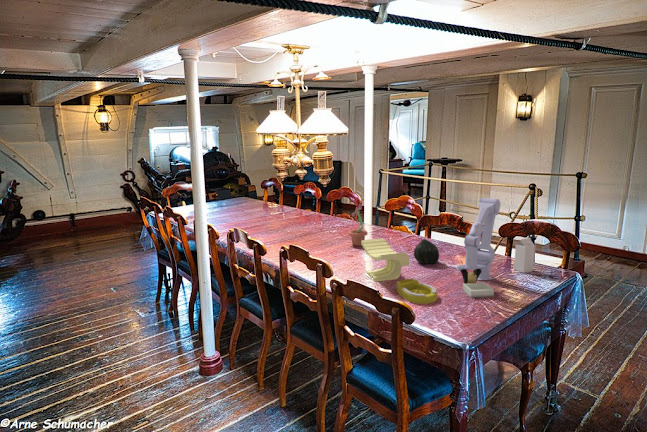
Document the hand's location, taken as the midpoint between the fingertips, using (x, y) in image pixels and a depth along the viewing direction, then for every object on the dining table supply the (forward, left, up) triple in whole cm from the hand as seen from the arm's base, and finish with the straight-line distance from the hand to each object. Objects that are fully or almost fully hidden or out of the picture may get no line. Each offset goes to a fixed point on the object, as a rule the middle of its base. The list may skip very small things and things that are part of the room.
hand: (470, 282), depth 216 cm
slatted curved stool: (-21, -41, -2) cm, 46 cm away
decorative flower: (-87, -45, -2) cm, 98 cm away
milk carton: (-19, +40, -2) cm, 44 cm away
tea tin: (0, 0, -2) cm, 2 cm away
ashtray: (+8, -31, -2) cm, 32 cm away
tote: (+9, 0, -2) cm, 10 cm away
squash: (-41, -10, -2) cm, 42 cm away
